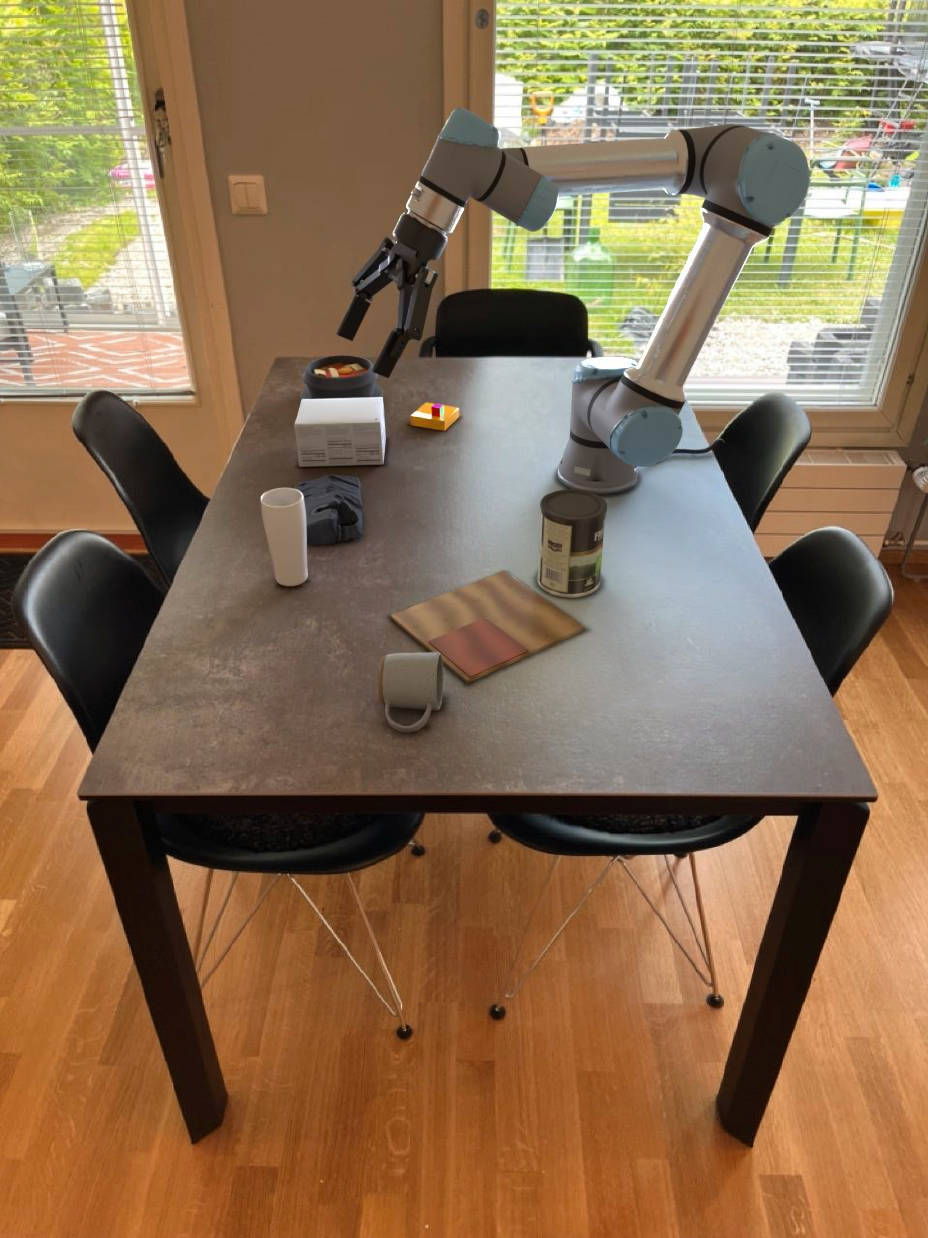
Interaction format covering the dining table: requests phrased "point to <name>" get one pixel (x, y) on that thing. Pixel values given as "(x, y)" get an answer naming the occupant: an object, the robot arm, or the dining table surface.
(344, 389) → the casserole
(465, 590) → the placemat
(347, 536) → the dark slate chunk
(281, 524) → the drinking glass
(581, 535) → the coffee can
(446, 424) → the yellow tile with knob
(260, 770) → the dining table surface
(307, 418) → the supplement box
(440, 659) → the ceramic mug
